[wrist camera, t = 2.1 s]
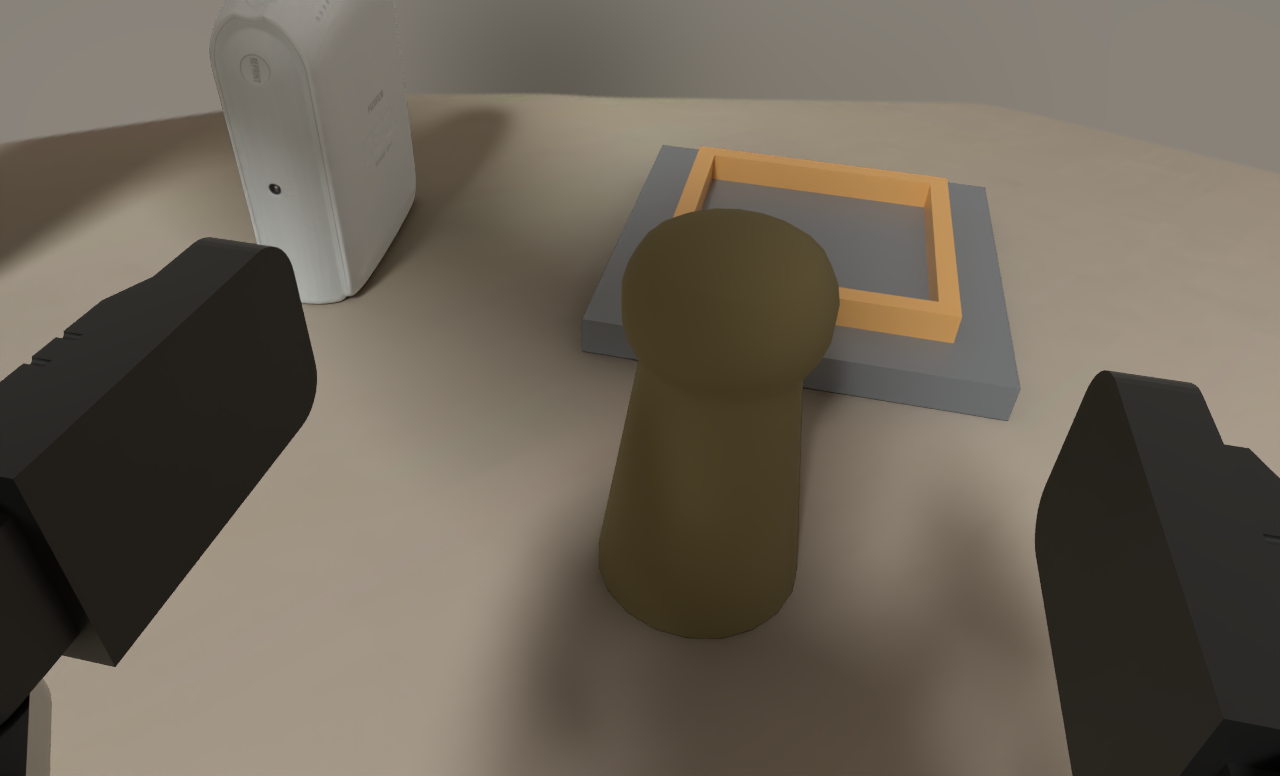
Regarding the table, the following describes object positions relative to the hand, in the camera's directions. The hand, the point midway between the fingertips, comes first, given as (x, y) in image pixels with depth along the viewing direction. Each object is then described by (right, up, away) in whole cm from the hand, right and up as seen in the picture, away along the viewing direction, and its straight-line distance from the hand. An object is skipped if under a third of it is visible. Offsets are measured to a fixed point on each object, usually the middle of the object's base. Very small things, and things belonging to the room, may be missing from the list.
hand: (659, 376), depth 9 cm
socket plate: (+7, +5, +31) cm, 32 cm away
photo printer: (-13, +6, +32) cm, 35 cm away
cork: (+2, -5, +19) cm, 19 cm away
